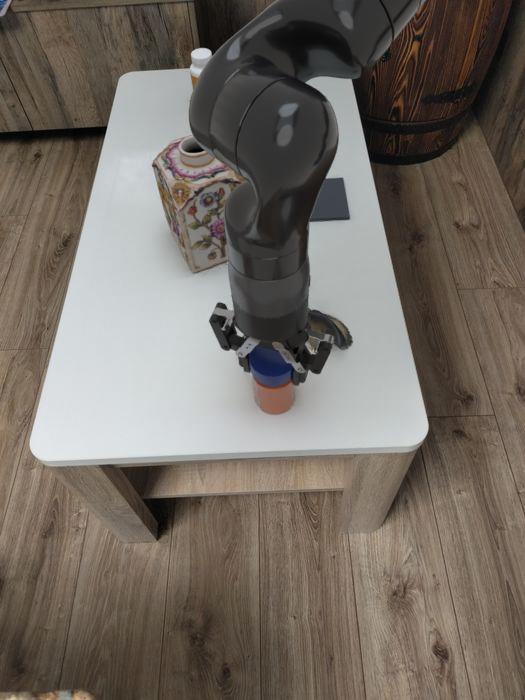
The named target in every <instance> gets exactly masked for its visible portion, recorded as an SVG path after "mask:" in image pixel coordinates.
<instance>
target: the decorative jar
mask: <svg viewBox="0 0 525 700" xmlns="http://www.w3.org/2000/svg"><path fill="white" fill-rule="evenodd" d="M151 167H152V168H153V175H154V177H155V181H156V186H157V189H158V193H159V197H160V201H161V206H162V209H163V212H164V216H165V219H166V222H167V225H168V228H169V230H170V232H171V234H172V236H173V238H174V240H175V242H176V244H177V246H178V248H179V250H180V252H181V254H182V255H183V256H182V257H184V259H185V261H186V264H187V265H188V267H189V270H190V271H191V273H193V274H195V273H198V272H200V271H203V270H206V269H209V268H212V267H214V266H217V265H220V264H223V263H225V262H229V254H228V248H227V241H226V234H225V227H224V208H225V203H226V200H227V198H228V196H229V194H230V193H231V191H232V190H233V189H234V188H235V187H236V186H238V185H239V184H241V183H242V182H244V181H247V180H246V179H244V178H243V177H241V176H240V175H239V174H237V173H236V172H234V171H233V170H231V169H230V168H229V167H227V166H226V165H224V164H223V163H221V162H220V161H218V160H217V159H215V158H214V157H213V156H211V155H210V154H208V153H207V152H206V151H205V150H204V149H202V148H201V147H200V145H199V144H198V143H197V142H196V140H195V138H194V137H193V134H189V135H187V136H183V137H179V138H176V139H174V140H172V141H170V142H169V143H168V144H167V146H166V147H164V148H163V150H162V151H161V152H159V153H158V154H157V155H156V157H155V158H154V159H153V160H152V162H151Z"/></svg>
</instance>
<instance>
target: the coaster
mask: <svg viewBox="0 0 525 700" xmlns="http://www.w3.org/2000/svg"><path fill="white" fill-rule="evenodd" d="M348 203H349V202H348V198H347V192H346V186H345V179H344V177H329V178H327V177H326V179H325V181H324V184H323V186H322V189H321V191H320V194H319V197H318V199H317V202H316V205H315V207H314V210H313V213H312V215H311V218H310V221H309V222H321V221H322V222H323V221H324V222H325V221H341V220H350V219H351V215H350V209H349V204H348Z"/></svg>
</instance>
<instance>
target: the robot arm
mask: <svg viewBox="0 0 525 700" xmlns="http://www.w3.org/2000/svg"><path fill="white" fill-rule="evenodd" d="M425 2H426V0H275V1H273V2H272V3H271V4H270V5H269V6H266V8H265V9H264V10H263V11H261V13H259V14H258V15H256V17H254V18H253V19H252V20H251V21H250V22H248V23H247V24H246V25H244V27H242V28H241V29H239V30H238V31H237V32H236V33H234V34H233V36H231V37H230V38H229V39H228V40H226V41H225V43H223V44H222V45H221V46H220V47H219V48H218V49H217V50H216V51H215V53H214V54H212V57H211V58H210V60H209V61H208V62H207V64H206V65H205V67H204V68H203V70H202V71H201V73H200V75H199V77H198V79H197V81H196V83H195V86H194V89H193V88H192V92H191V95H190V99H189V105H188V124H189V129H190V132H191V135H193V137H194V138H195V140H196V142H197V143H198V144H199V145H200V147H201V148H202V149H204V150H205V151H206V152H207V153H208V154H210V155H211V156H213V157H214V158H215V159H217V160H218V161H220V162H221V163H223V164H224V165H226V166H227V167H229V168H230V169H231V170H233V171H234V172H236V173H237V174H239V175H240V176H241V177H243V178H244V179H246V180H247V181H244V182H242V183H241V184H239V185H238V186H236V187H235V188H234V189H233V190H232V191H231V193H230V194H229V196H228V198H227V200H226V203H225V208H224V227H225V234H226V241H227V248H228V254H229V260H228V261H227V262H228V263H227V270H228V271H227V272H228V280H229V287H230V293H231V301H232V310H231V309H229V307H227V305H226V304H225V303H224V302H221V301H220V302H216V304H215V307H214V309H213V311H212V312H211V315H210V317H209V320H208V323H209V325H210V327H211V329H212V331H213V334H214V336H215V338H216V340H217V342H218V344H219V346H220V348H221V349H222V350H223V351H225V352H226V351H227V352H230V351H231V350H232V351H234V352H235V355H236V356H237V359H238V365H239V366H240V367H241V368H242V369H243V372H245V373H248V374H251V371H250V365H249V353H250V352H251V351H252V350H253V349H254V347H255V346H257V347H260V348H266V349H271V350H274V351H276V352H280V354H281V355H282V357H283V358H284V360H285V361H286V363H291V364H292V366H293V367H294V370H293V385H296V387H300V384H305V382H306V381H307V377H308V374H309V371H310V372H311V373H312V374H315V375H321V373H322V371H323V369H324V367H325V365H326V363H327V361H328V359H329V356H330V354H331V352H332V349H333V345H334V344H335V343H334V340H335V336H336V331H334V330H333V329H326V330H325V332H324V333H321V332H318V331H315V330H313V329H312V328H311V325H310V323H309V322H308V320H307V316H308V307H309V297H310V296H309V295H310V287H311V282H312V281H311V280H312V279H311V277H312V276H311V264H310V256H309V242H310V222H311V221H310V218H311V215H312V213H313V210H314V207H315V205H316V202H317V199H318V197H319V194H320V191H321V189H322V186H323V184H324V181H325V179H326V178H327V177H328V174H329V173H330V170H331V169H332V165H333V163H334V161H335V158H336V155H337V152H338V149H339V148H338V147H339V142H340V141H339V139H340V138H339V137H340V131H339V124H338V120H337V115H336V113H335V110H334V108H333V105H332V103H331V101H330V100H329V99H328V97H327V96H326V95H325V94H323V92H322V91H320V90H319V89H317V88H315V86H312V85H310V84H308V83H307V82H309V81H310V80H312V79H315V78H323V77H326V78H335V79H341V80H342V79H343V80H355V79H359V78H361V77H363V76H365V75H366V74H368V73H369V72H370V71H371V70H372V69H373V68H374V67H375V66H376V65H377V64H378V62H379V61H380V60H381V59H382V57H383V56H384V55H385V54H386V53H387V51H388V50H389V49H390V47H391V46H392V45H393V43H394V42H395V41H396V40H397V38H398V37H399V36H400V34H401V33H402V32H403V31H404V29H405V28H406V27H407V25H408V24H409V23H410V21H411V20H412V19H413V18H414V17H415V15H416V13H418V11H419V10H420V9H421V8H422V6H423V4H424V3H425ZM237 330H239V332H240V333H241V334H242V336H241V335H238V331H237ZM307 342H310V344H311V343H312V345H311V348H312V347H313V348H314V349H313V353H311V351H310V350H309V348H308V347H307V345H306V343H307Z"/></svg>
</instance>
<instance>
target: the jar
mask: <svg viewBox="0 0 525 700" xmlns="http://www.w3.org/2000/svg"><path fill="white" fill-rule="evenodd" d="M251 376H252V384H253V385H252V387H253V393H254V400H255V403H256V405H257V407H258V408H259V410H261V411H262V412H264V413H266V414H267V415H274V416H277V415H282V414H285V413H286V412H288V411H290V410H291V408H292V407H293V406H294V404H295V401H296V390H297V389H296V387H297V386H296V385H293V378H292V379H291V380H290V381H288V382H287V383H285V384H283V385H279V386H267V385H264V384H261V383H260V382H258V381H257V380H256V379H255V378H254V377H253V375H252V374H251Z"/></svg>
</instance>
